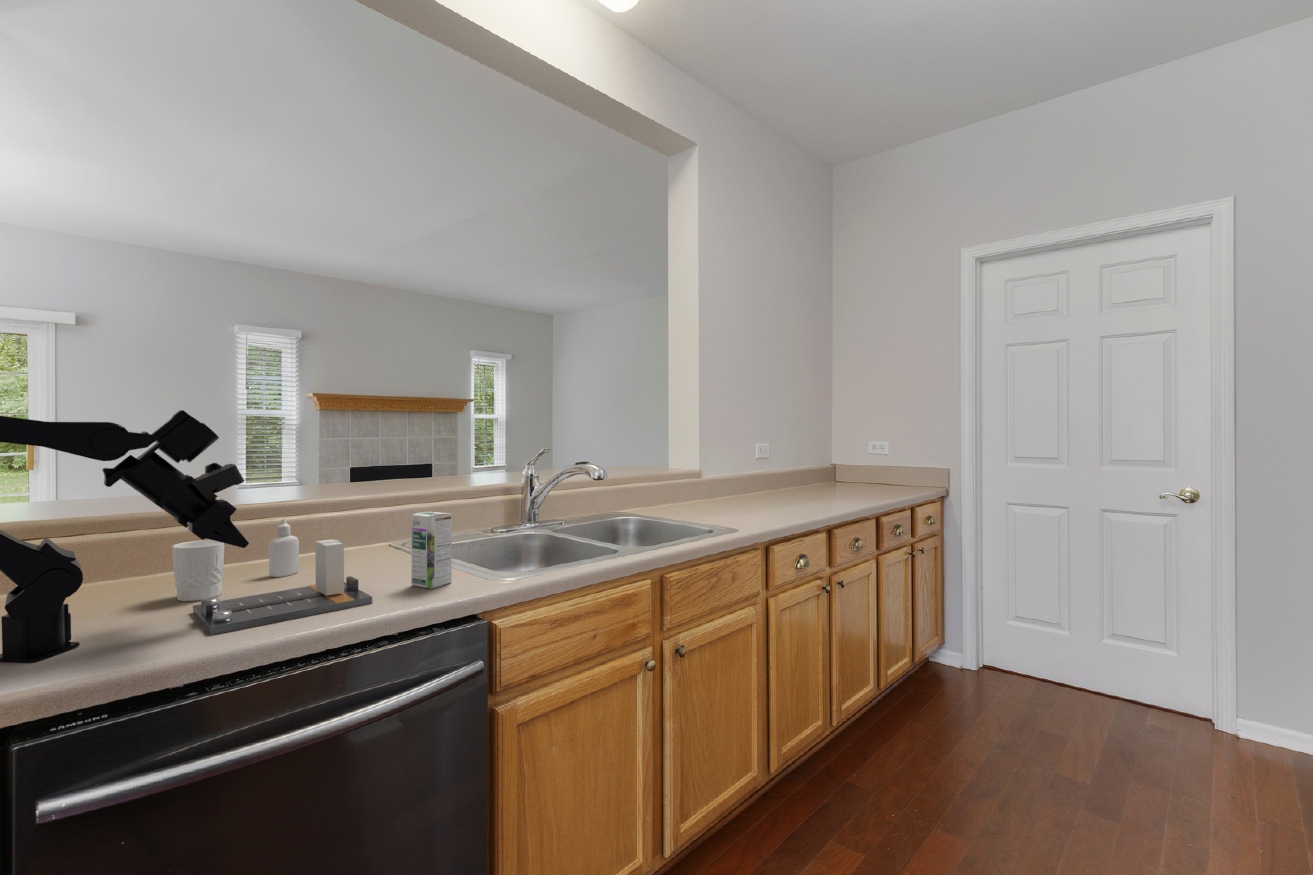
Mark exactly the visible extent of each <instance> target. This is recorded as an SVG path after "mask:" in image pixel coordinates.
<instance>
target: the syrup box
mask: <svg viewBox="0 0 1313 875" xmlns="http://www.w3.org/2000/svg"><path fill="white" fill-rule="evenodd" d="M452 518H453V513H451V512H450V513H449V512H435V511H422V512H421V511H419V512H416V513H413V514H411V581H410V584H411V586H412V587H419V588H425V589H430V590H431V589H435V588H438V587H442V586H445V585H448V584H451V583H452V581H453V580H452V578H453V577H452V576H453V575H452V566H453V565H452V564H453V563H452V562H453V561H452V559H453V557H452V554H453V551H452V549H453V547H452V546H453V542H452V541H453V539H452V538H453V535H452V534H453V533H452V532H453V528H452V527H453V526H452V524H453V522H452Z"/></svg>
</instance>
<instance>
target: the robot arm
mask: <svg viewBox="0 0 1313 875" xmlns="http://www.w3.org/2000/svg"><path fill="white" fill-rule="evenodd" d="M219 439H220V437H219V435H217V433H215V432H214V430H212V429H211V428H210V427H209V426H208V425H206V423H204V422H201V421H199V420H198V419H196V418H195V417H193V416H192V415H191V414H189V413H188V412H186V411H185V410H184V409H182V410H178V411H177V412H175V413H174V414H173V415H172V416H171V418H170V419H168V420H167V421H166V422H165V423H164V424H162V425H161V426H160V427H158V428H157V429H156V430H155V431H153V432H152V433H149V432H148V431H142V432H132V431H129V430H127V428H126V427H124V426H122V425H121V424H119V423H114V422H112V421H111V422H110V421H43V420H36V419H29V418H20V417H14V416H13V417H12V416H4V415H0V443H5V444H6V443H7V444H16V445H25V446H34V447H43V448H47V449H49V450H50V449H51V450H55V451H59V452H63V453H66V454H71V455H74V456H75V455H76V456H79V457H83V458H86V459H91V460H96V461H100V462H111V461H115V460H118V459H121V458H122V457H124V456H126V455H127V453H129V451H135V450H140V449H141V450H142V449H147V448H148V449H147V450H146V451H144V452H143V453H142V454H140V455H138V456H137V457H135V456H133V455H132V454H129V455H128V456H127V457H125V458H124V459H122V461H120V462H119V463H117V464H116V465H115V466H114V467H104V468H102V470H101V471H102V472H103V477H104V479H103V480H104V481H103V484H104V486H105V487H107V488H110V487H113V486H114V485H115V484H116V483H117V482H118V481H120V480H121V481H123V482H124V483H125V484H127V485H128V486H130V487H131V488H132V489H133V490H135V491H136V492H138V493H139V494H141V495H142V496H144V497H145V498H146V499H147V500H149V501H150V502H152V503H153V504H155V505H156V506H157V507H159V508H160V509H162V510H163V511H165V512H166V513H167V514H169V515H170V516H171V517H172V518H174V521H176V522H177V523H178V524H179V525H181V526H183V527H184V528H185V529H187V528H188V531H190V532H191V533H192V534H193V535H194V536H196V537H198V538H199V539H200V540H214V541H218V542H222V543H224V544H226V545H230V546H235V547H238V548H241V549H245V548H246V547H248V546H249V544H250V543H249V541H248V540H247V539H246V538H245V536H244V535H243V534H242V532H241V531H240V530H239V529H238V528H237V527H236V525H235V524H234V523H233V522H232V520H231V517H232V515H233V514H235V512H236V511H237V510H238V508H236V507H235V506H234V505H232V504H231V503H230V502H229V501H228V500H225V499H223V498H221V499H217V498H218V494H217V493H219V492H222V491H224V490H226V489H228V488H231V487H233V486H239V485H240V484H243V483H244V482H245V480H244V477H243V476H242V474H241V472H240V470H239V469H238V467H237V465H236V464H234V463H228V464H224V465H223V466H222V465H220V464H219V463H217V462H213V463H209V464H207V465H205V466H204V473H203V474H202V473H201V475H200V476H197V477H195V478H194V477H193V476H191V475H188V474H184V473H183V472H182V471H180V470H179V469H178V468H176V467H175V466H174V465H173V464H172V463H170V462H168V461H167V460H166V459H165V458H163V457H162V455H159V454H158V453H157V452H156V451H157V450H159V451H160V452H161V453H163V455H165V456H167V458H169V459H171V460H172V461H173V462H175V463H176V464H179V463H180V462H181V461H182V462H185V461H186V462H187V463H191V462H193V461H194V460H195V459H196V458H198V457H199V456H200V455H201V454H202V453H203V452H205V451H206V450H208V449H209V447H211V446H212V445H213V444H214V443H216V442H217V441H218V440H219ZM154 443H155V444H154ZM153 444H154V445H153ZM151 445H152V446H151ZM149 447H150V448H149ZM75 553H76V552H75V551H73V550H69V549H68V550H67V549H64V548H61V547H60V546H58V545H57V544H56V543H54V541H53V540H51V539H50V538H48V537H44V538H43V539H42V540H41V542H40V543H39V545H38V544H35V543H31V542H27V541H25V540H22V539H18V538H17V537H14V536H13V535H12V534H8V533H7V532H5V531H3V530H1V529H0V572H2V574H4V576H6V577H7V578H8V579H9V580H10V581H12V582H13V583H14V584H15V585H16V586H15V587H14V588H13V589H12V590H11V591H9V592H8V593H7V595H6V599H5V605H4V610H5V612H6V614H5V615H1V616H0V618H1V652H2V653H0V662H26V663H27V662H31V663H33V662H38V661H40V660H43V659H45V658H48V657H51V656H54V655H57V654H59V653H63V652H65V651H68V650H70V649H74V648H77V647H79V646H80V641H71V640H72V620H71V619H72V614H71V612H69V604H68V603H64V602H65V600H66V599H67V598H69V597H71V596H72V595H74V594H75V593H76V592H78V591H79V589H80V587H81V586H82V583H83V581H84V574H83V570H82V566H81V564H80V563H79V560H77V557H76V554H75Z"/></svg>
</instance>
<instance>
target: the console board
mask: <svg viewBox="0 0 1313 875" xmlns="http://www.w3.org/2000/svg"><path fill="white" fill-rule="evenodd" d="M345 579H346V581H344V593H338V594H333V595H327V596H326V595H325V594H323V593H321V592H320V591H318V590H316V583H315V584H310V585H308V586H302V587H296V588H290V589H284V590H277V591H271V592H267V593H261V594H255V595H254V594H253V595H248V596H242V597H237V598H230V599H224V600H220V598H218V597H213V598H209V599H204V600H200V602H201V603H200V604H194V605H192V613H193V615H195V617H196V619H198V621H199V622H200V623H201V625H202V626H203V625H204V626H203V627H204V628H205V630H206V631H207V632H208V633H209V635H211V636H214V635H220V634H223V633H228V632H229V633H230V632H233V631H234V632H235V631H239V630H238V629H240V630H244V629H248V628H249V627H250V628H253V626H255V627H258V626H257V625H260V626H264V625H270V624H274V622H275V623H279V621H280V622H284V621H290V620H295V619H299V618H300V619H301V618H306V617H310V616H315V615H319V614H325V613H330V612H333V611H334V612H335V611H339V610H345V609H349V608H354V607H360V606H365V605H370V604H373V596H372V595H370V594H368V593H366V592H364V591H362V590H361V589H359V579H357V578H355V577H354V576H346V578H345ZM269 623H270V624H269Z"/></svg>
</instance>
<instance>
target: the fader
mask: <svg viewBox="0 0 1313 875" xmlns="http://www.w3.org/2000/svg"><path fill="white" fill-rule="evenodd" d="M314 542H315V548H314V550H315V554H314V555H315V584H316V590H318V591H320V592H321V593H323V594H325V595H326V596H327V595H333V594H338V593H344V582H345V555H344V554H345V550H344V549H345V548H344V547H345V546H344V543H343V542H340V540H338V539H333V538H332V539H331V538H330V539H323V540H315V541H314Z"/></svg>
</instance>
